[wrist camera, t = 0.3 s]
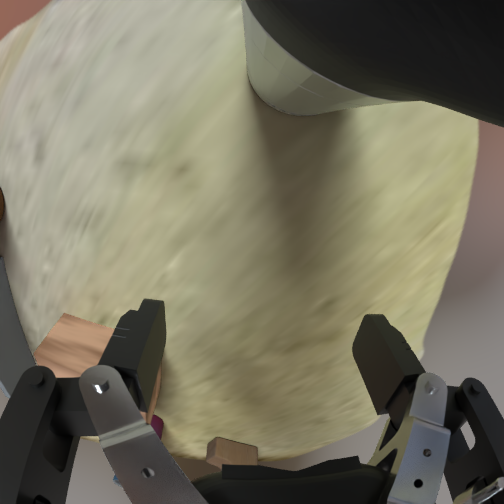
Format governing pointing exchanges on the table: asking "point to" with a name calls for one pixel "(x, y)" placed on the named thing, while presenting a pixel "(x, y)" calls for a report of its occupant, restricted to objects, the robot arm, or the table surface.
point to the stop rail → (11, 340)
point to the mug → (1, 205)
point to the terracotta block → (80, 351)
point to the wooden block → (230, 453)
